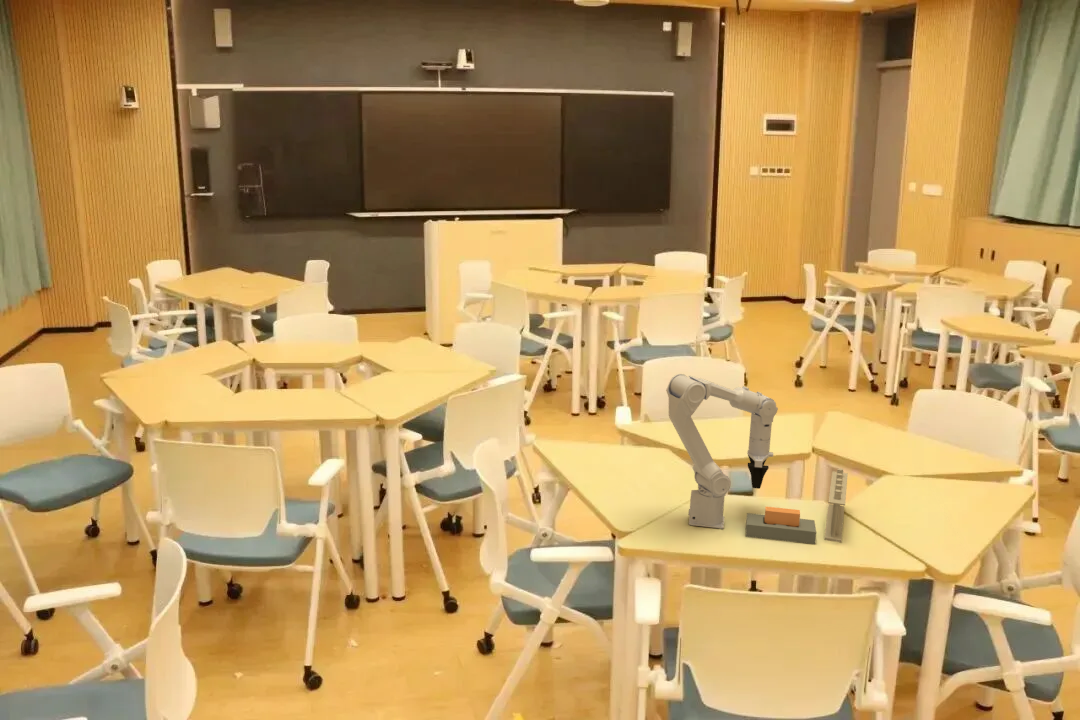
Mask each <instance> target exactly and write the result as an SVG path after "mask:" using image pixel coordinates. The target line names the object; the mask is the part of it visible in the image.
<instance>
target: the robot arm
mask: <svg viewBox="0 0 1080 720" xmlns="http://www.w3.org/2000/svg"><path fill="white" fill-rule="evenodd" d="M665 391H666V394H667V397H668V417H669V419H670V421H671V423H672V425H673V427H674V429H675V430H676V433H677V435H678V437H679V439H680V440H681V442H682V444H683V446H684V448H685V450H686V452H687V454H688V456H689V457H690V460H691V461H692V463H693V465H692V470H693V472H694V473H693V474H694V481H695V482H696V484H698V485H697V489H692V490H691V492H690V503H689V508H688V517H689V519H688V526H694V527H695V526H697V527H703V528H713V529H721V530H722V529H724V528H725V516H724V508H725V496H726V494H728V492H729V490H730V489H731V487H732V486H731V484H732V481H731V478H730V477H729V476H728V475H726V474H725V473H724V472H723V471H722V469H721V468H720V466H719V465H718V464H717V463H716V462H715V461H714V459H713V456H712V455H711V453H710V451H709V449H708V447H707V445H706V443H705V441H704V440H703V438H702V436H701V434H700V432H699V429H698V428H697V426H696V424H695V421H694V420H693V418H692V416H693V415H694V414H695V412H696V411H697V410H698V408H699V407H700V406H701V404H702V403H703V401H704V400H705V401H706V400H708V399H709V398H710V396H711V397H714V398H717V399H721V400H723V401H724V400H725V401H728V402H729V405H730V406H731V407H732V408H735V409H738V410H741V411H744V412H747V413H750V414H751V415H750V428H749V436H748V437H749V439H748V449H747V452H746V453H747V457H748V459H749V462H747V468H748V471H749V473H750V480H751V488H752V489H761V487H762V484H763V482H764V481H763V480H764V477H765V475H766V473H767V471H768V470H769V465H765V463H766V461H767V459H769V458H771V457H774V452H772V451H770V450H771V449H770V448H771V436H772V425H773V423H774V417H775V415H777V413H778V411H779V408H778V406H777V403H776V401H775V399H773V398H772V397H771V398H770V397H768V396H767V395H765V394H763V393H762V392H760V391H756V392H754V391H752V390H750V388H749V387H747V386H744V385H742V386H741V387H740V386H738V387H735V388H734V389H731V388H728V387H726V386H723V385H720V384H718V383H715V382H712V381H710V380H707V379H706V378H705V379H704V378H701V377H696V376H691V375H688V376H687V375H686V374H684V373H683V374H682V373H676V374H675V375H674V376H673V377H671V379H670V380H669V382H668V385H667V388H666V390H665Z"/></svg>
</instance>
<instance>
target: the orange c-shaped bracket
mask: <svg viewBox="0 0 1080 720" xmlns="http://www.w3.org/2000/svg"><path fill="white" fill-rule="evenodd" d="M764 507H765V509H764V515H765V517H764V521H765V523H766V524H771V525H774V524H781V525H789V526H790V527H797V526H799V521H800V519H801V509H794V508H784V507H777V506H776V507H772V506H764Z"/></svg>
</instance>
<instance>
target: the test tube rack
mask: <svg viewBox="0 0 1080 720" xmlns="http://www.w3.org/2000/svg"><path fill="white" fill-rule="evenodd" d="M847 486H848V472H844V468H842V467H839V468H837V470H836V471H835V470H833V471H831V479H830V487H829V494H828V505H827V506H828V507H827V514H826V523H825V530H824V538H823V540H824V541H828V542H836V543H842V541H843V529H844V528H843V527H844V515H845V506H846V502H847V501H846V499H847Z"/></svg>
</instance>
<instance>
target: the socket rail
mask: <svg viewBox="0 0 1080 720" xmlns="http://www.w3.org/2000/svg"><path fill="white" fill-rule="evenodd" d="M764 517H765V514H761V513H750V512H746V518H745V519H746V520H745V521H746V522H745V537H746V538H756V539H765V540H772V541H773V540H775V541H783V542H790V543H792V542H793V543H800V544H809V545H815V544H816V541H817V539H816V538H817V529H816V523H815V519H808V518H807V519H806V518H800V521H799V526H797V527H790V526H789V525H781V524H774V525H771V524H766V523H765V521H764Z"/></svg>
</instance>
